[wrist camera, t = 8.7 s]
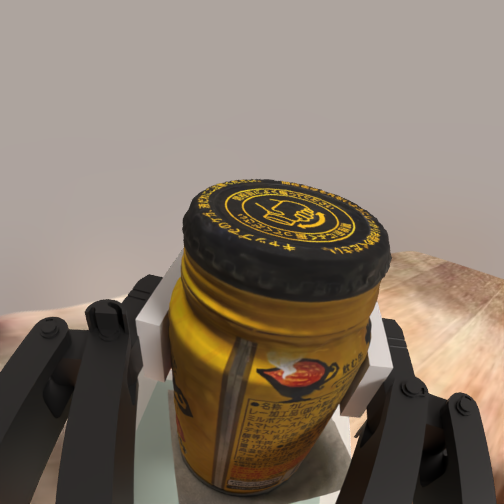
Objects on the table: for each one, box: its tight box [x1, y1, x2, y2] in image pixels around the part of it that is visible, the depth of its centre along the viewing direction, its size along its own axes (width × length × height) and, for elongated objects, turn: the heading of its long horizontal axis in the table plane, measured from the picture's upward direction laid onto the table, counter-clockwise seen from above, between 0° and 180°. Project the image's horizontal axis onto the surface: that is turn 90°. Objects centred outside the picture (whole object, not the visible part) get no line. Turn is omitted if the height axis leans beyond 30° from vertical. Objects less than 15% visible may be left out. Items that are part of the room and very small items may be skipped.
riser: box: [134, 368, 351, 504], centre depth 19 cm, size 18×15×5 cm
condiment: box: [168, 179, 392, 504], centre depth 11 cm, size 7×8×12 cm
